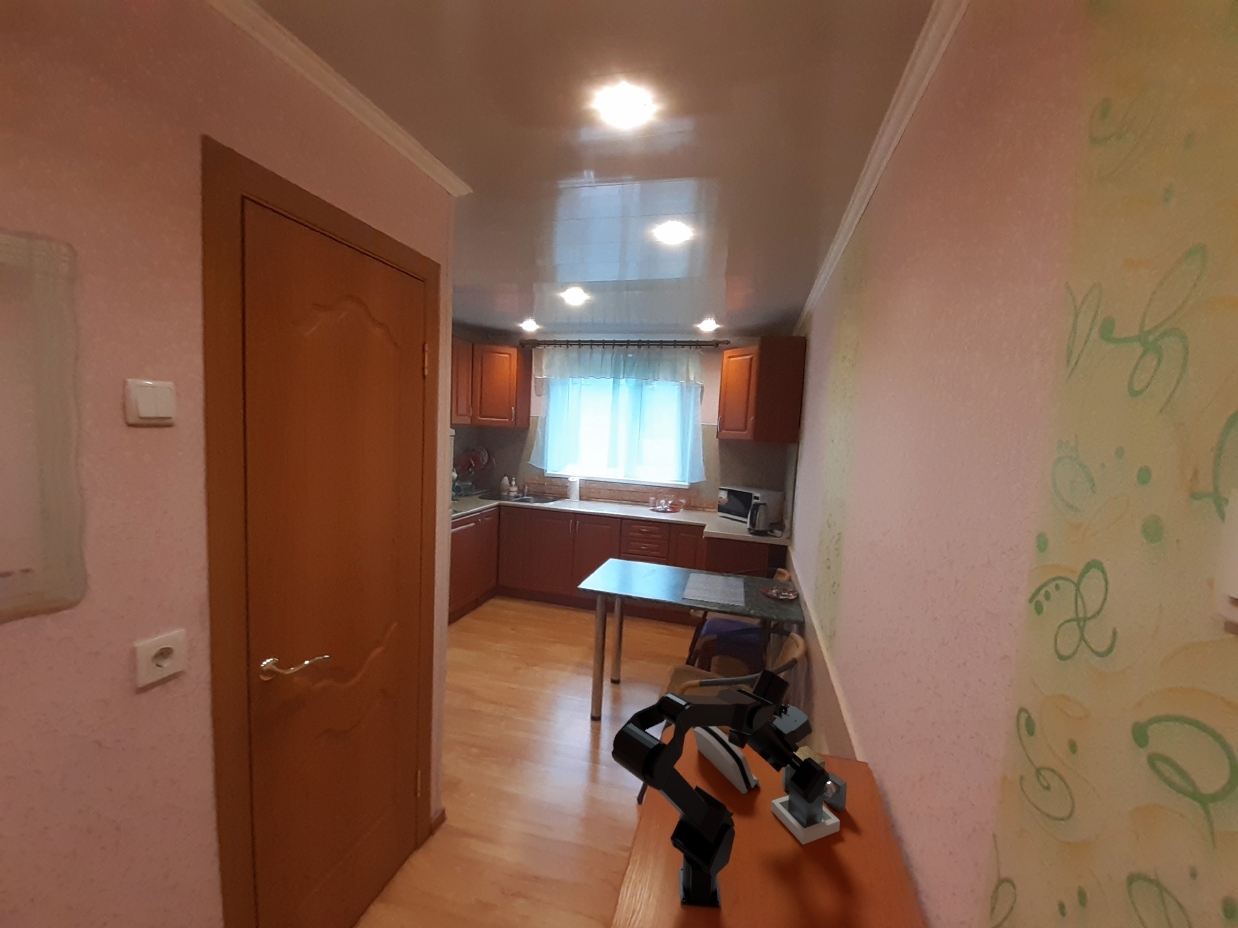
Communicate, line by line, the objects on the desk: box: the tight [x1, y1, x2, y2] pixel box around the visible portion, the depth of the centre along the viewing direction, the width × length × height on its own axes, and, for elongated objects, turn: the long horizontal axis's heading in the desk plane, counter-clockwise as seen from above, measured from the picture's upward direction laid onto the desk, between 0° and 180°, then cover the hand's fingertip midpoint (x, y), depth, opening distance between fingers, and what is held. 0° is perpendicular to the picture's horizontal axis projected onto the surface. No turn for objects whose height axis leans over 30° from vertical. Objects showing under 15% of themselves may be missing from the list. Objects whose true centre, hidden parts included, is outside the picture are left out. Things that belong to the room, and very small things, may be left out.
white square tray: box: [770, 794, 841, 846], centre depth 101 cm, size 9×9×2 cm
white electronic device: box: [693, 726, 761, 795], centre depth 115 cm, size 17×5×10 cm, turn 27°
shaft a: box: [823, 770, 848, 813], centre depth 105 cm, size 5×4×6 cm
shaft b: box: [781, 764, 790, 792], centre depth 108 cm, size 5×4×6 cm
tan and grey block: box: [788, 745, 826, 828], centre depth 100 cm, size 5×4×13 cm
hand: (805, 776), depth 100 cm, fingers open, 9 cm apart
